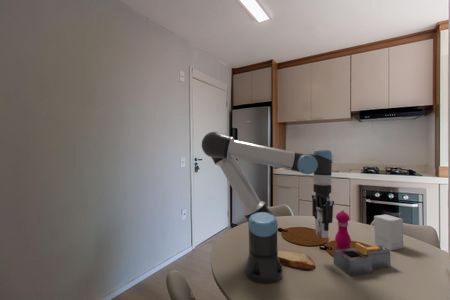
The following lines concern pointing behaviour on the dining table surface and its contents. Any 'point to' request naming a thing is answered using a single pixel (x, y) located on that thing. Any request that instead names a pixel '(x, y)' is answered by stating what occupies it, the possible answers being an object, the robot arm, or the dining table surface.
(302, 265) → the bread slice
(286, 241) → the dining table surface
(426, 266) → the dining table surface
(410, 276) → the dining table surface
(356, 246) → the lock pin
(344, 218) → the pepper mill
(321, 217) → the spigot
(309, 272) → the dining table surface
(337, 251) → the dock
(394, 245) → the supplement box
